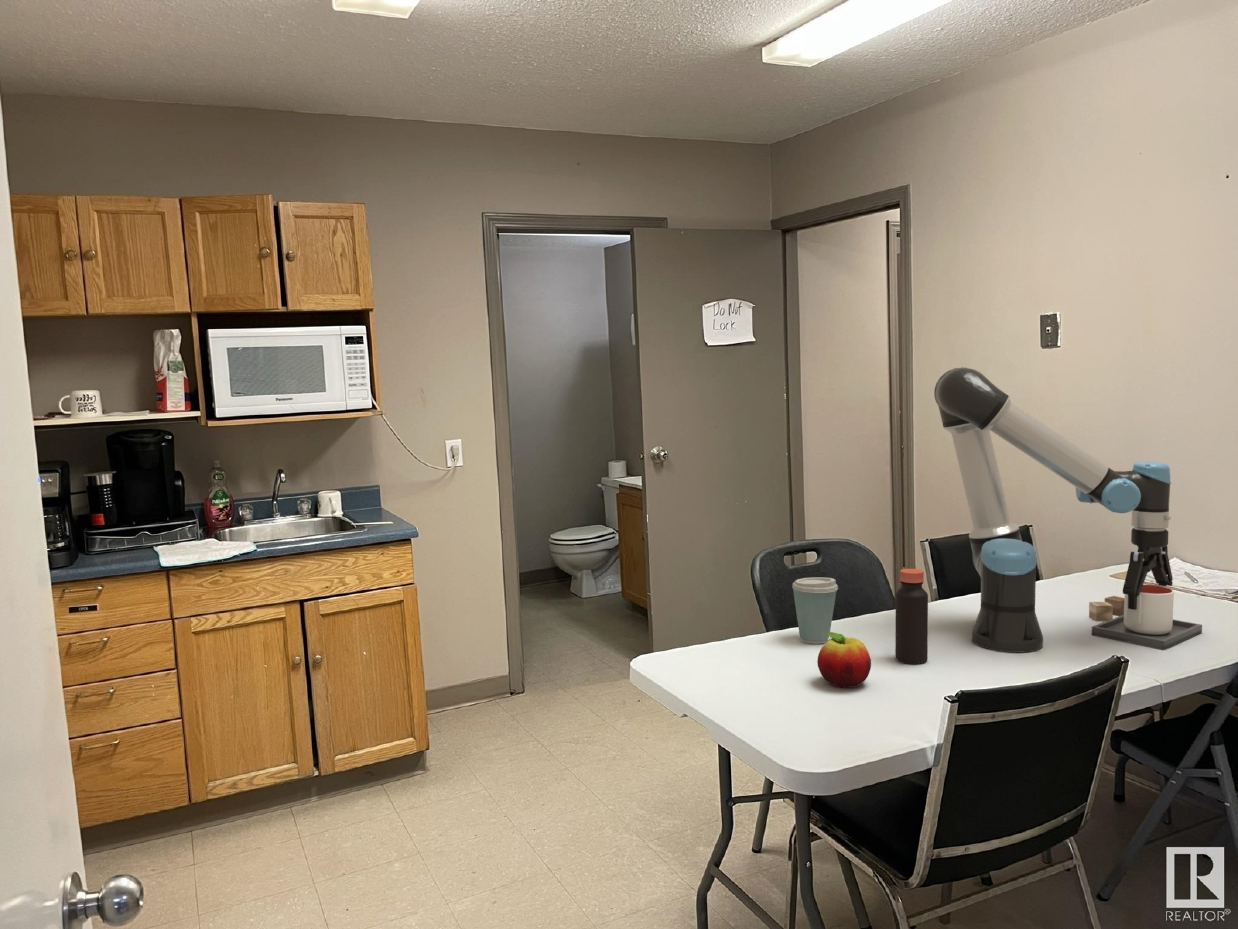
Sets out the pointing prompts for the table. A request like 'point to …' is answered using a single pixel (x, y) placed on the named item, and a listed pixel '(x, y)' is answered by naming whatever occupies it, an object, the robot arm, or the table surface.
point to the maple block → (1100, 611)
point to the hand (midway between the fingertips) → (1147, 617)
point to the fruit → (844, 661)
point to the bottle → (911, 618)
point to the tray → (1121, 633)
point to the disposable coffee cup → (814, 607)
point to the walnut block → (1116, 604)
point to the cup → (1153, 611)
